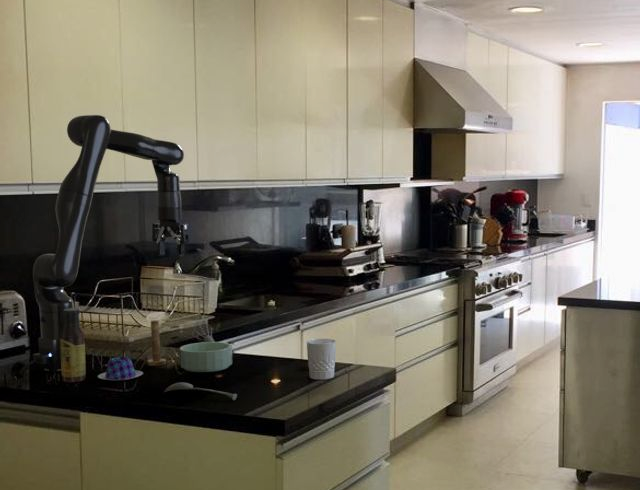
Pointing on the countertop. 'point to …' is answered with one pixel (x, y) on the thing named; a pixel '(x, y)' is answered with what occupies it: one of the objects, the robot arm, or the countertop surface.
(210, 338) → the kitchen whisk
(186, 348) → the bowl
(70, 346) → the sauce bottle
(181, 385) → the soupspoon
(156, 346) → the stirrer
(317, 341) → the white cup
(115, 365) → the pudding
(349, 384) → the countertop surface
